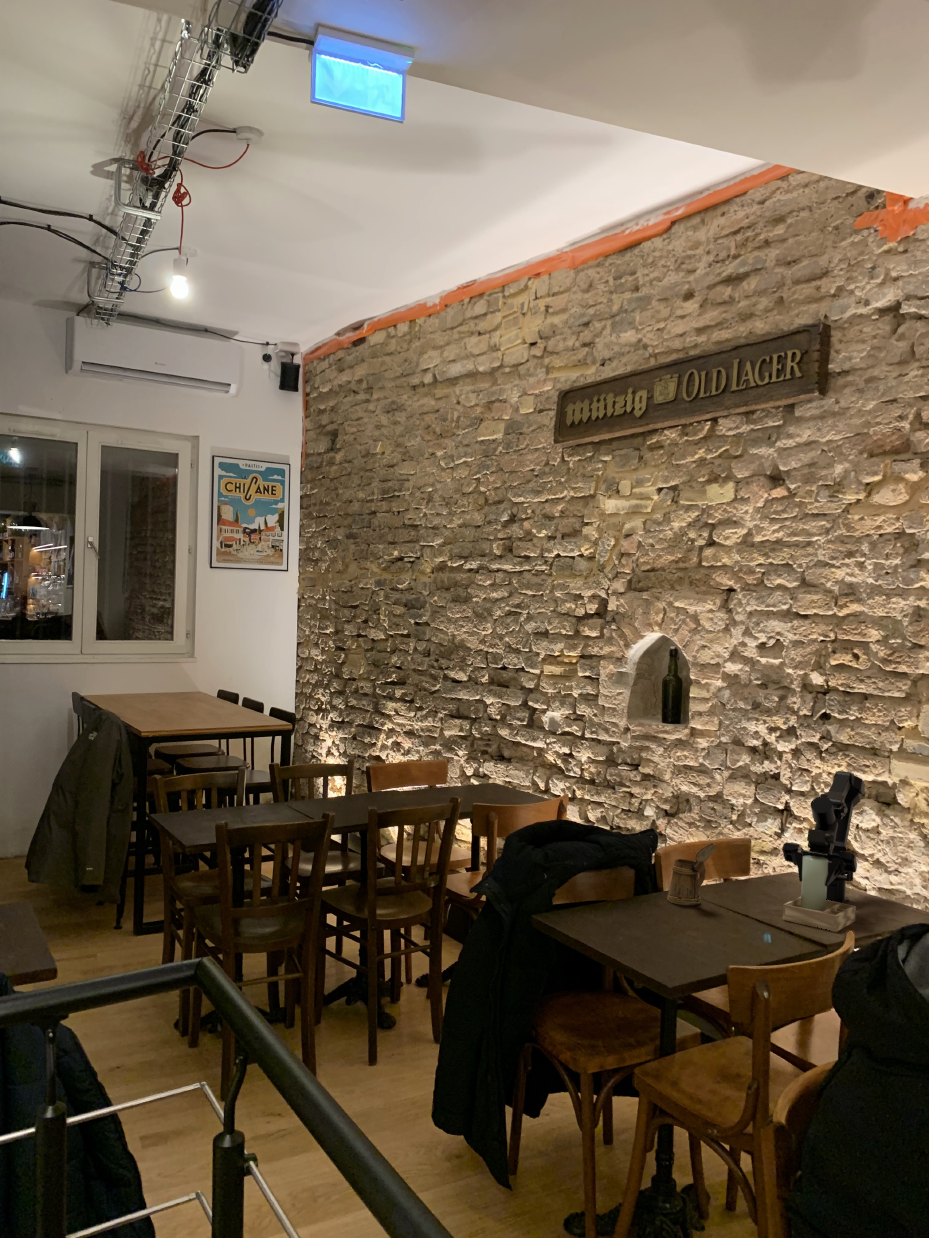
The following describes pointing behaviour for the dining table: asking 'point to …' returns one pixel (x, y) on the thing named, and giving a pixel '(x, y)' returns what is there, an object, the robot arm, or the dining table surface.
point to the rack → (820, 915)
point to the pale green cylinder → (814, 882)
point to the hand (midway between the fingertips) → (813, 883)
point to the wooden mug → (689, 878)
